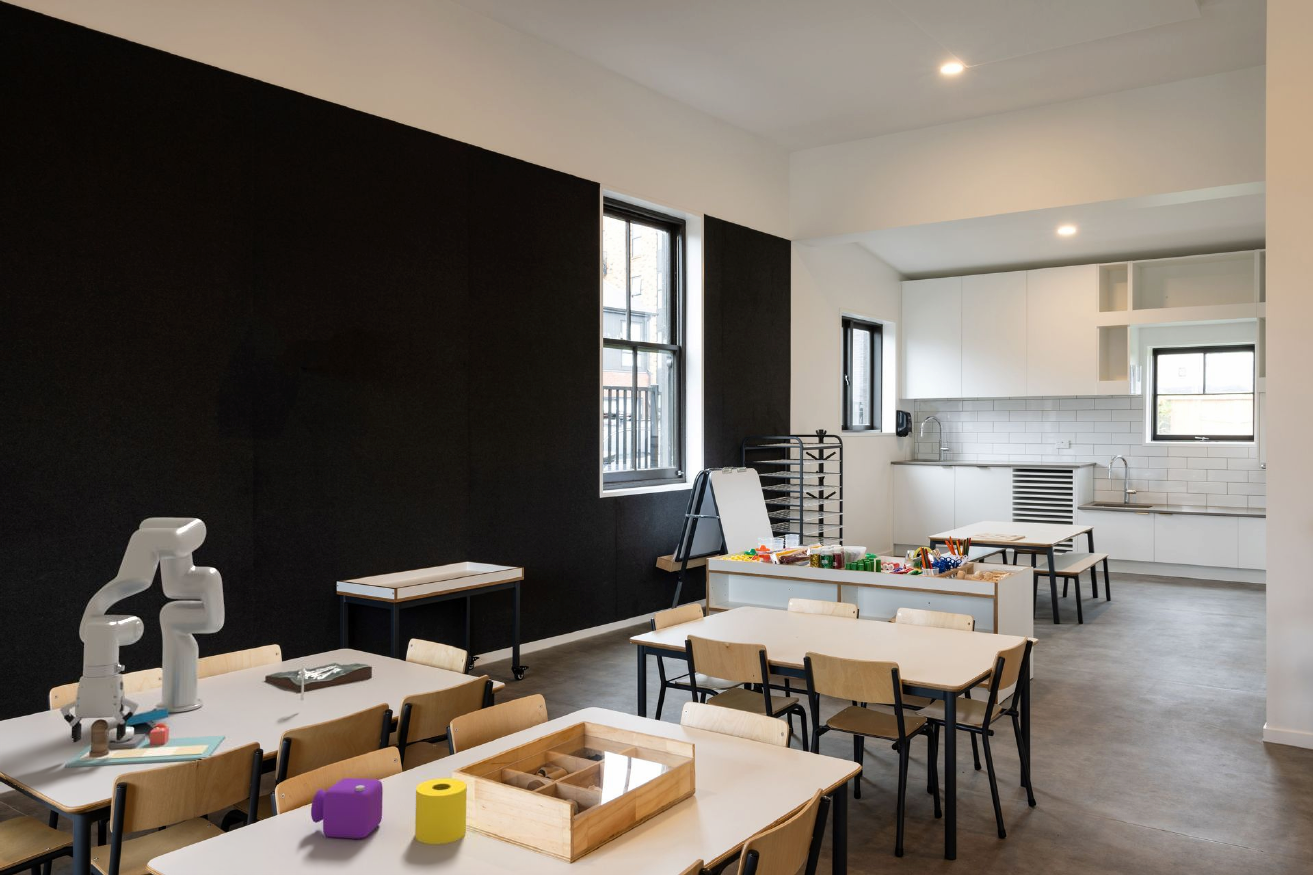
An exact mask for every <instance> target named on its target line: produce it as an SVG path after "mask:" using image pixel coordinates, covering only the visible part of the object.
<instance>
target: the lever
mask: <svg viewBox="0 0 1313 875" xmlns="http://www.w3.org/2000/svg"><path fill="white" fill-rule="evenodd" d="M167 718H169V712H168V708H167V709H162V710H152V711H148V712H141V713H138V714H134V715H133V716H132V717H131V718H129V719H128V720H127V721H126V727H131V726H133V725H139V724H144V723H146V724H147V725H149V726H150V727H151V728H153V729H154V728H157V727H158V728H166V727H167V725H166V724H165V723H158V724H156V723H155V722H154V721H157V720H162V719H167ZM153 729H152V730H153Z"/></svg>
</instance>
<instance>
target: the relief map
mask: <svg viewBox="0 0 1313 875" xmlns="http://www.w3.org/2000/svg"><path fill="white" fill-rule="evenodd" d="M372 678H373V667H372V665H369V664H367V663H358V662H357V663H356V662H355V663H348V664H340V663H336V662H333V663H330V664H325V665H320V666H316V667H313V668H305V665H304V663H302V667H301V668H300V669H298V670H290V671H284V672H283V671H280V672H279V671H278V672H275V673H271V674H268V675H265V678H264V679H265V680H264V681H265V682H268V683H271V684H275V685H277V686H280V687H283V688H286V689H289V690H292V691H295V692H297V693H301V694H300V701H305V692H309V691H313V690H319V689H324V688H328V687H334V686H339V685H344V684H348V683H353V682H358V681H362V680H363V681H364V680H369V679H372Z"/></svg>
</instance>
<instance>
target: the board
mask: <svg viewBox="0 0 1313 875" xmlns="http://www.w3.org/2000/svg"><path fill="white" fill-rule="evenodd" d="M169 731H170V727H167V726H166V728H158V727H157V728H154V729H152V730H150V732H149V739H147V738H146V734H145V733H143V734H141V733H139V734H134V737H133V738H131V739H128V742H115V741H111V740H109V735H108V749H109V754H108V755H106V756H102V757H90V756H89V752H90V751H91V743H89V745H87V746H86V747H85V748H84V749H82V750H81V751H80V752H78V753H77V754H76V755H75V756H74V757H73V758H71V759H70V760H69V761H67V762H66V763H65V764H64V768H75V767H76V768H77V767H90V766H92V767H93V766H105V765H106V766H111V765H112V766H113V765H129V764H147V763H148V764H150V763H165V762H166V763H167V762H168V763H169V762H184V761H186V762H187V761H199V760H198V759H201V758H206V757H208V756H210V757H211V756H212V755H213V753H215V751H216V750H217V749H218V747H219V746H220V745H221V743H222V742H223V741H224V740H225V739H226V736H225V735H212V736H211V735H209V736H206V735H205V736H192V737H191V736H189V737H187V736H186V737H171V738H170V736H169V735H170V732H169Z"/></svg>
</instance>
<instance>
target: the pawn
mask: <svg viewBox="0 0 1313 875" xmlns="http://www.w3.org/2000/svg"><path fill="white" fill-rule="evenodd" d="M109 728H110V725H109V722H108V721H107V720H106V719H102V718H98V719H96V720H95V721H93V723H91V726H90V732H91V733H90V744H91V751H90V752H89V756H90V757H102V756H106V755H108V754H109V749H108V736H109Z"/></svg>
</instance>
